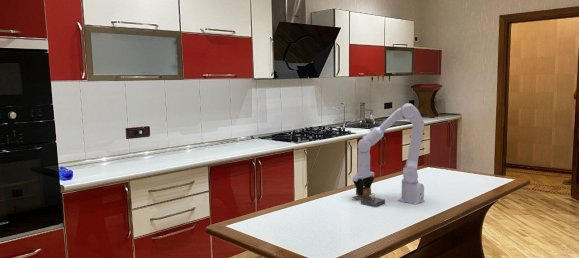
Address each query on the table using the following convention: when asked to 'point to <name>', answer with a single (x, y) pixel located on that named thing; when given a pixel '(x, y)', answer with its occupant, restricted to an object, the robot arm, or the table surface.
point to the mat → (359, 197)
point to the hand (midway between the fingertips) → (363, 193)
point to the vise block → (372, 201)
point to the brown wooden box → (365, 192)
